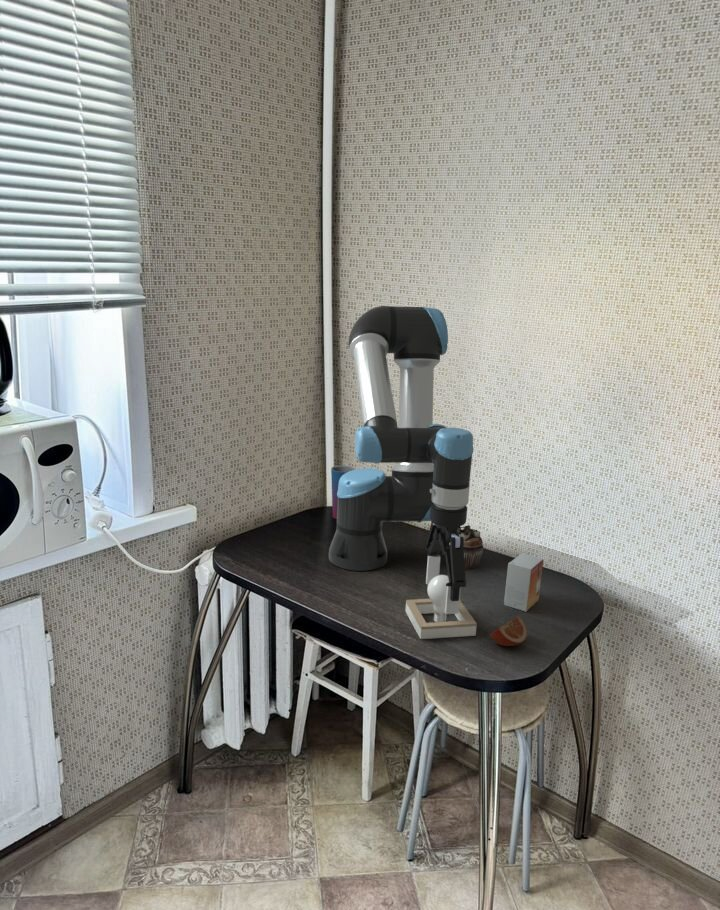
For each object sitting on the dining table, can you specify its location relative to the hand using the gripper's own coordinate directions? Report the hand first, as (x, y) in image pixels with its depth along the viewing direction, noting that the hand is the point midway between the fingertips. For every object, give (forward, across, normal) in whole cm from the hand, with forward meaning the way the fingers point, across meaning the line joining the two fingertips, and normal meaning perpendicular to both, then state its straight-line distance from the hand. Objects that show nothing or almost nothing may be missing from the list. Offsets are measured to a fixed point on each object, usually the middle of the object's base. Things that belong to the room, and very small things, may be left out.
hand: (441, 597), depth 152 cm
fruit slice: (+6, +10, +12) cm, 17 cm away
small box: (+6, -7, +22) cm, 24 cm away
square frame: (+6, 0, 0) cm, 6 cm away
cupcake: (+6, -30, +16) cm, 34 cm away
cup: (+7, -66, -10) cm, 67 cm away
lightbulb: (+6, 0, 0) cm, 6 cm away
